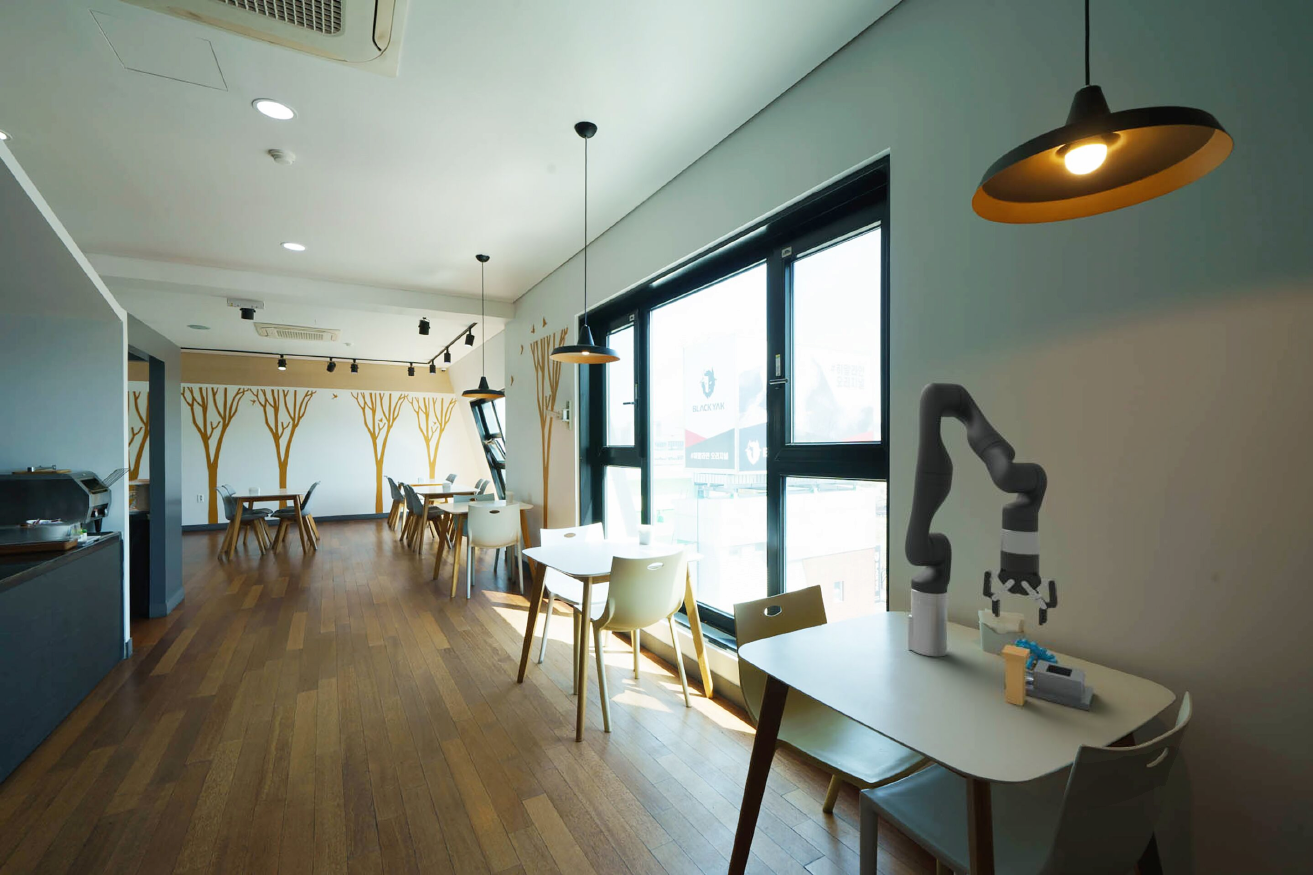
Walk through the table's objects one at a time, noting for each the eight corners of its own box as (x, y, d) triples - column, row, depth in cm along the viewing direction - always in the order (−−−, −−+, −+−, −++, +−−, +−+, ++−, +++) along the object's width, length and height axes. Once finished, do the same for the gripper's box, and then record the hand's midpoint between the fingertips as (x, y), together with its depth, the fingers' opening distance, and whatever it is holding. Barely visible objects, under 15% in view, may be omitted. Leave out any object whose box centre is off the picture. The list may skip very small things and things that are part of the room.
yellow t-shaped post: (1001, 701, 129) (1001, 651, 129) (1006, 692, 133) (1006, 644, 133) (1025, 708, 126) (1025, 656, 126) (1029, 698, 130) (1029, 649, 130)
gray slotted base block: (1004, 689, 135) (1004, 666, 135) (1014, 674, 144) (1014, 652, 144) (1088, 710, 124) (1089, 685, 125) (1093, 693, 133) (1093, 669, 134)
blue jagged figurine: (1068, 666, 145) (1042, 640, 144) (1057, 685, 143) (1031, 659, 143) (1029, 656, 156) (1006, 632, 155) (1019, 674, 154) (995, 649, 153)
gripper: (980, 547, 131) (980, 617, 131) (1055, 556, 122) (1054, 631, 122) (987, 543, 137) (987, 610, 137) (1059, 551, 128) (1058, 623, 128)
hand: (1019, 620), depth 130 cm, fingers open, 8 cm apart
